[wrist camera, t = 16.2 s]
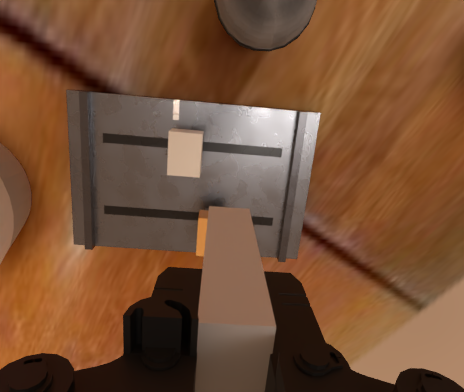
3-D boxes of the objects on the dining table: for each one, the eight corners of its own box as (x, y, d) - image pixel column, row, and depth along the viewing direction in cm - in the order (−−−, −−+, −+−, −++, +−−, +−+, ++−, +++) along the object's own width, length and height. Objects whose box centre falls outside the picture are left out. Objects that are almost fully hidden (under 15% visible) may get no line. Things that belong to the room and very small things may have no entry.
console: (74, 89, 36) (62, 89, 33) (315, 112, 38) (323, 113, 35) (80, 237, 41) (70, 248, 38) (293, 251, 43) (298, 262, 40)
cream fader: (175, 125, 36) (168, 131, 30) (204, 127, 36) (202, 134, 31) (174, 162, 37) (167, 175, 32) (202, 165, 37) (199, 177, 32)
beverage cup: (300, 10, 35) (398, -85, 16) (262, 76, 37) (310, 62, 18) (238, -32, 34) (263, -191, 14) (202, 38, 35) (183, -21, 16)
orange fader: (201, 200, 38) (198, 218, 33) (228, 202, 38) (229, 220, 33) (198, 233, 39) (195, 255, 34) (225, 235, 39) (225, 257, 34)
